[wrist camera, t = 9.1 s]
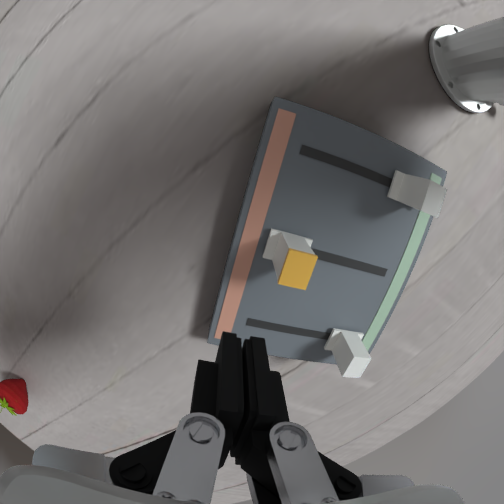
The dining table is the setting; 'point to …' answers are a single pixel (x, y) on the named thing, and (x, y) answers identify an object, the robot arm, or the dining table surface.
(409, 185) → the block
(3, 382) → the strawberry
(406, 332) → the dining table surface
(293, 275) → the block
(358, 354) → the breaker handle
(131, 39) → the dining table surface
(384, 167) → the breaker panel
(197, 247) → the dining table surface
